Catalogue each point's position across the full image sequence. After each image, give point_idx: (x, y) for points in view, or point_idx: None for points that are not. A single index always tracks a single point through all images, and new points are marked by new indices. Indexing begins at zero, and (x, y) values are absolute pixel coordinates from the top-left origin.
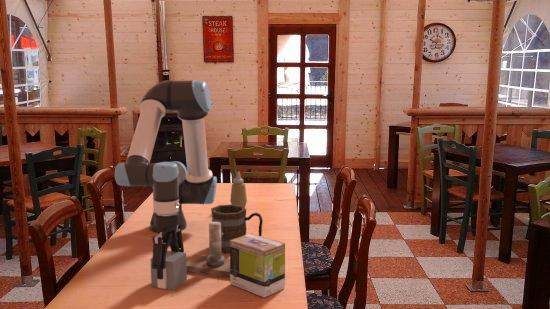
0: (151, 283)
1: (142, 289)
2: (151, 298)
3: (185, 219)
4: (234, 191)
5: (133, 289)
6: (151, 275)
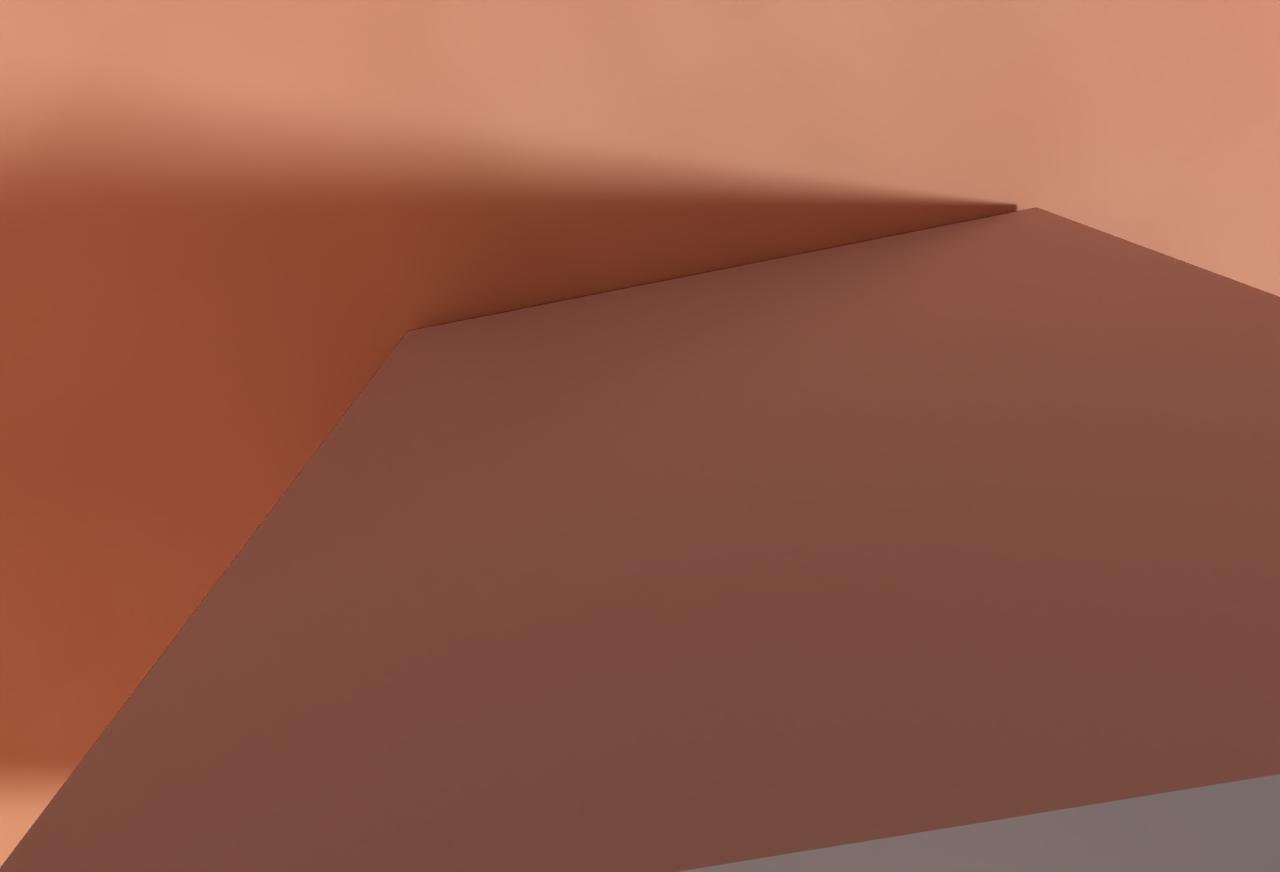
0: (389, 356)
1: (167, 252)
2: (41, 693)
3: None
4: None
5: (4, 42)
6: (327, 455)
